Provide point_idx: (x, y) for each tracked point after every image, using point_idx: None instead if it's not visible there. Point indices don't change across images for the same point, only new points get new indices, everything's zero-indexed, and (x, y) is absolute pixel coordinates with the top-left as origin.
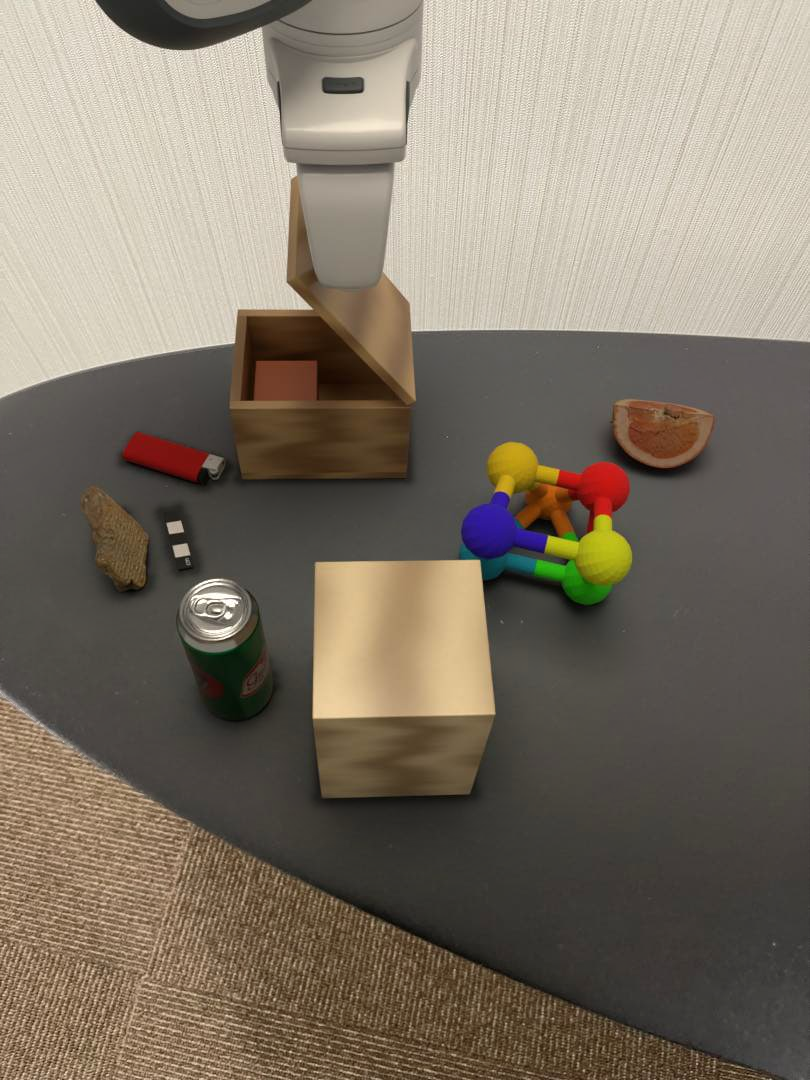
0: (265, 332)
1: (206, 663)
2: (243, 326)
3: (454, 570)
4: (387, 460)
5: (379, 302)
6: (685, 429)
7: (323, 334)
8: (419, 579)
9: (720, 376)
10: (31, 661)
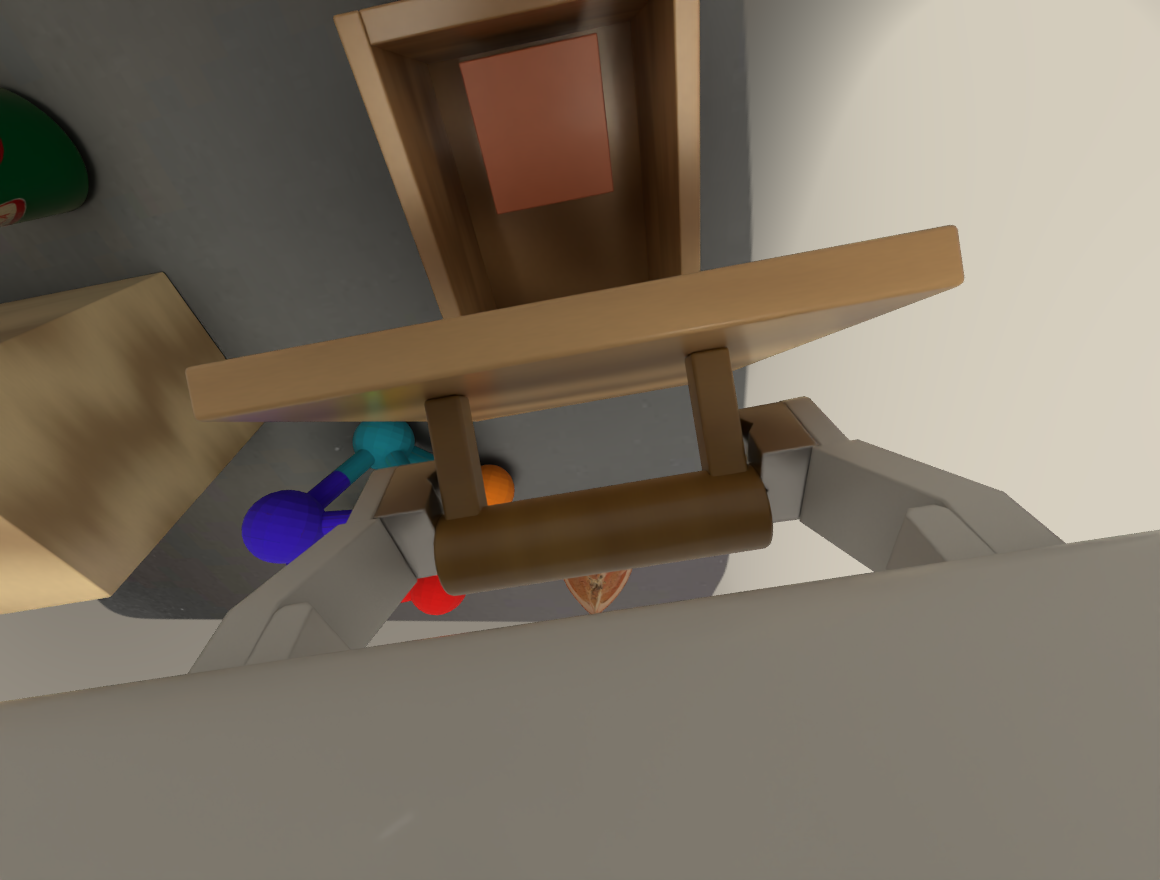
0: (661, 46)
1: None
2: None
3: (61, 578)
4: None
5: (619, 390)
6: (583, 593)
7: (667, 200)
8: (2, 547)
9: (685, 582)
10: None
